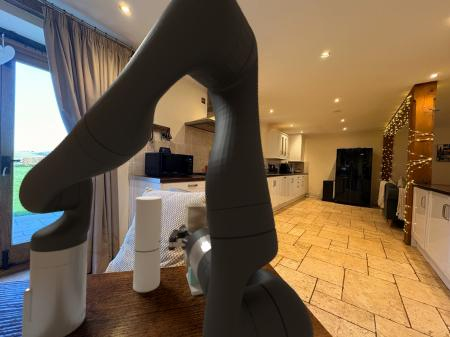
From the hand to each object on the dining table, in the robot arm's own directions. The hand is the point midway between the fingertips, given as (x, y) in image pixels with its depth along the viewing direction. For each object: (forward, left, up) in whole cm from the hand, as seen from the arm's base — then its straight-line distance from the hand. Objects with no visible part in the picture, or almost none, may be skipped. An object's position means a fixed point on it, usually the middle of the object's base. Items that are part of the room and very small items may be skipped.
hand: (192, 227), depth 51 cm
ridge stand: (+8, +6, -18) cm, 21 cm away
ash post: (0, -3, -8) cm, 8 cm away
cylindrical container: (-11, +10, -19) cm, 24 cm away
